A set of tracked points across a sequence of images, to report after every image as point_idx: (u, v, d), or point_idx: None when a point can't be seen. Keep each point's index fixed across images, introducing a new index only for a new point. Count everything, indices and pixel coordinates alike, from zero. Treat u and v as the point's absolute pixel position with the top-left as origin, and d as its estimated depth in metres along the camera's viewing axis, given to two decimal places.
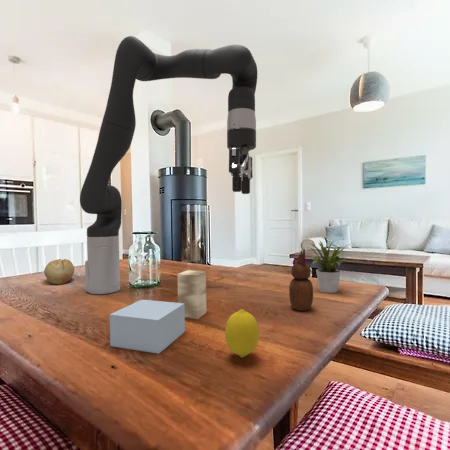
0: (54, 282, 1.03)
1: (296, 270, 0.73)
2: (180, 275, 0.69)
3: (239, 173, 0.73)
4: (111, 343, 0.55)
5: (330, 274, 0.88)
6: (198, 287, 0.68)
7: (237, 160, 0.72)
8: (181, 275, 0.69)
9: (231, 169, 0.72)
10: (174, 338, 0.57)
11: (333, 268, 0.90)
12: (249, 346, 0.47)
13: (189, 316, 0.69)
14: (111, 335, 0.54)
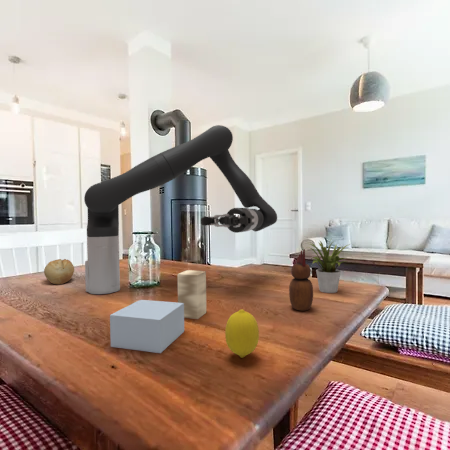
0: (54, 282, 1.03)
1: (296, 270, 0.73)
2: (180, 275, 0.69)
3: (240, 224, 0.81)
4: (111, 344, 0.54)
5: (330, 274, 0.88)
6: (198, 287, 0.68)
7: (250, 224, 0.83)
8: (181, 275, 0.69)
9: (247, 218, 0.81)
10: (174, 338, 0.57)
11: (333, 268, 0.90)
12: (249, 346, 0.47)
13: (189, 316, 0.69)
14: (111, 336, 0.54)
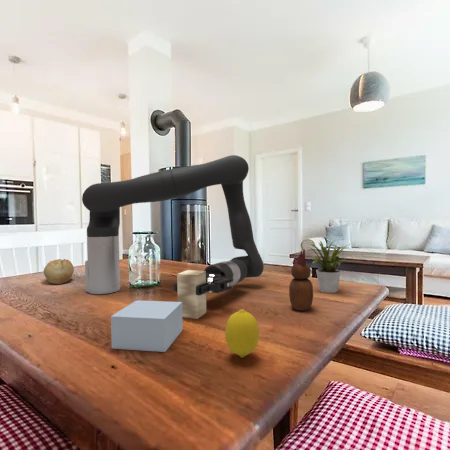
0: (53, 282, 1.03)
1: (296, 270, 0.73)
2: (180, 275, 0.69)
3: (211, 291, 0.71)
4: (112, 345, 0.54)
5: (330, 274, 0.88)
6: None
7: (224, 289, 0.72)
8: (181, 275, 0.69)
9: (219, 285, 0.70)
10: (175, 336, 0.58)
11: (333, 268, 0.90)
12: (249, 346, 0.47)
13: (189, 316, 0.69)
14: (112, 337, 0.54)
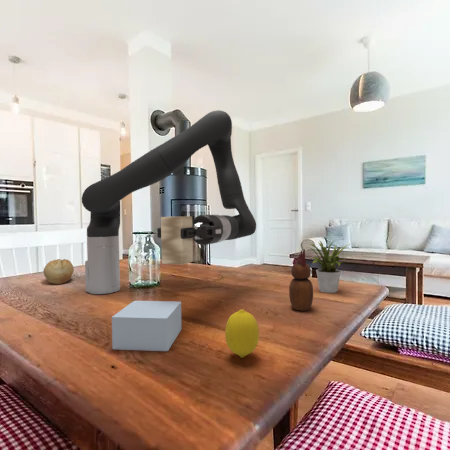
0: (53, 282, 1.03)
1: (296, 270, 0.73)
2: (164, 218, 0.64)
3: (198, 236, 0.65)
4: (113, 346, 0.53)
5: (330, 274, 0.88)
6: None
7: (212, 236, 0.66)
8: (165, 218, 0.63)
9: (206, 229, 0.65)
10: (176, 336, 0.58)
11: (333, 268, 0.90)
12: (249, 346, 0.47)
13: (173, 262, 0.63)
14: (113, 338, 0.53)
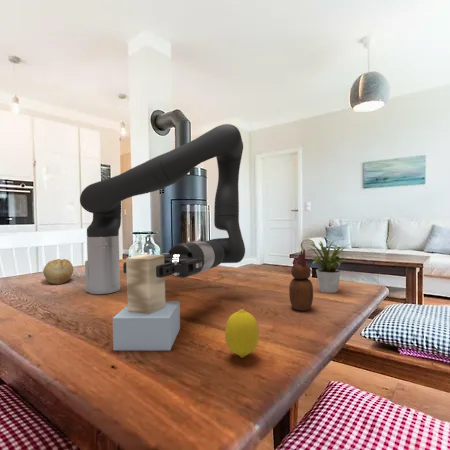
0: (53, 282, 1.03)
1: (296, 270, 0.73)
2: (129, 259, 0.55)
3: (177, 273, 0.57)
4: (114, 347, 0.53)
5: (330, 274, 0.88)
6: (150, 275, 0.54)
7: (193, 271, 0.58)
8: (130, 259, 0.55)
9: (187, 265, 0.57)
10: (176, 335, 0.58)
11: (333, 268, 0.90)
12: (249, 346, 0.47)
13: (140, 310, 0.55)
14: (114, 339, 0.53)
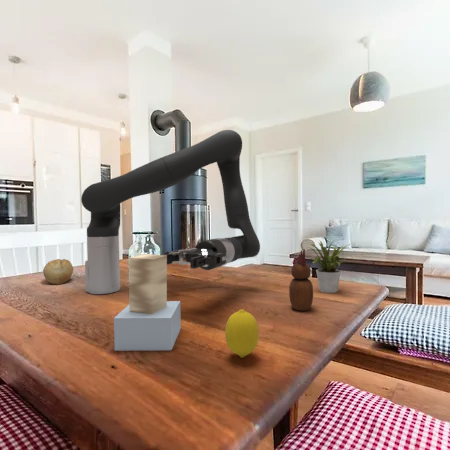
0: (53, 282, 1.03)
1: (296, 270, 0.73)
2: (132, 259, 0.55)
3: (207, 265, 0.66)
4: (115, 347, 0.53)
5: (330, 274, 0.88)
6: (153, 275, 0.54)
7: (220, 263, 0.67)
8: (133, 259, 0.55)
9: (216, 258, 0.66)
10: (177, 335, 0.58)
11: (333, 268, 0.90)
12: (249, 346, 0.47)
13: (142, 310, 0.55)
14: (115, 339, 0.53)
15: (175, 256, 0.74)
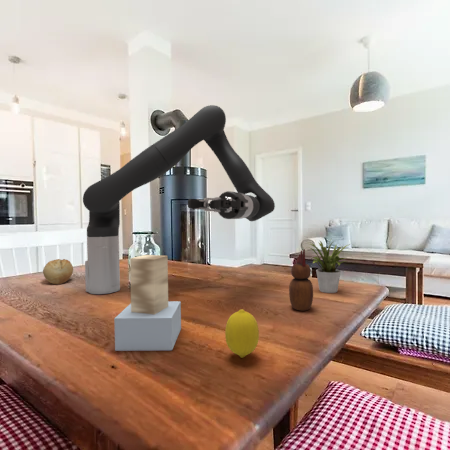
0: (52, 282, 1.03)
1: (296, 270, 0.73)
2: (133, 260, 0.55)
3: (232, 207, 0.72)
4: (116, 348, 0.53)
5: (330, 274, 0.88)
6: (155, 275, 0.54)
7: (243, 208, 0.74)
8: (134, 260, 0.55)
9: (240, 201, 0.72)
10: (177, 335, 0.58)
11: (333, 268, 0.90)
12: (249, 346, 0.47)
13: (144, 311, 0.55)
14: (116, 339, 0.53)
15: (200, 204, 0.80)
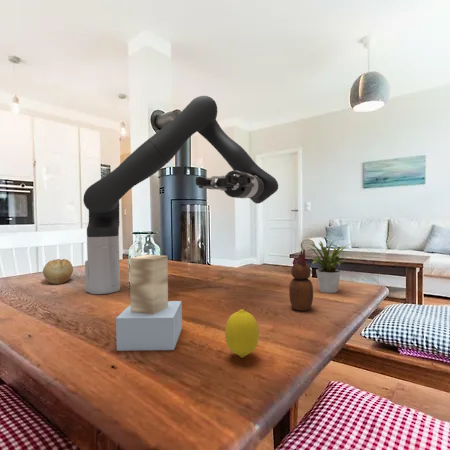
0: (52, 282, 1.03)
1: (296, 270, 0.73)
2: (133, 259, 0.55)
3: (239, 183, 0.74)
4: (118, 347, 0.53)
5: (330, 274, 0.88)
6: (154, 275, 0.54)
7: (250, 184, 0.76)
8: (134, 259, 0.55)
9: (247, 177, 0.74)
10: (178, 335, 0.58)
11: (333, 268, 0.90)
12: (249, 346, 0.47)
13: (143, 311, 0.55)
14: (118, 339, 0.53)
15: (207, 183, 0.82)
